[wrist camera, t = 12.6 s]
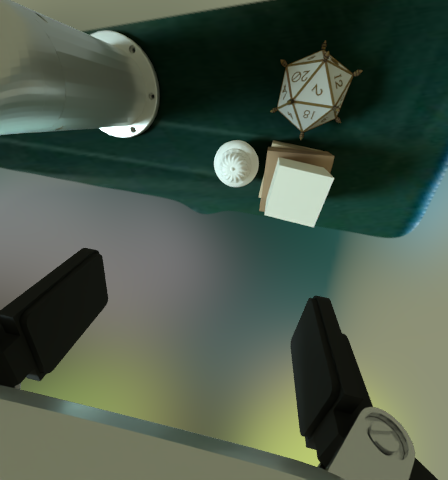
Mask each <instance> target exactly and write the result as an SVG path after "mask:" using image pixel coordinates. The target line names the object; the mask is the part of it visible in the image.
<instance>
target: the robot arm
mask: <svg viewBox="0 0 448 480" xmlns="http://www.w3.org/2000/svg"><path fill="white" fill-rule="evenodd" d="M134 50H135V53H134ZM153 95H154V98H153ZM159 99H160V92H159V83H158V79H157V75H156V72H155V70H154V67H153V65H152V63H151V61H150V59H149V58H148V56H147V55H146V53H145V52H144V51H143V50H142V48H141V47H140V46H139V45H138V44H136V43H135V42H134V41H133V40H131V39H130V38H128V37H126V36H125V35H122V34H120V33H118V32H114V31H109V30H105V31H98V32H95V33H93V34H91V35H88V34H86V33H84V32H81V31H79V30H77V29H74V28H72V27H70V26H68V25H65V24H63V23H61V22H59V21H56V20H54V19H52V18H49V17H47V16H45V15H43V14H40V13H38V12H36V11H33V10H31V9H29V8H27V7H24V6H22V5H20V4H18V3H15V2H13V1H11V0H0V135H6V134H17V133H30V132H48V131H63V130H79V129H94V128H99V129H101V130H102V131H103V132H105V133H107V134H109V135H112V136H115V137H120V138H128V137H134V136H137V135H139V134H141V133H143V132H144V131H146V130H147V129H148V128H149V127H150V125H151V124H152V123H153V121H154V119H155V117H156V115H157V111H158V107H159ZM135 129H136V131H135ZM107 302H108V294H107V287H106V281H105V273H104V266H103V259H102V255H100V254H99V252H98V251H97V250H93V249H88V248H83V249H81V250H80V251H78V252H77V253H76V254H74V255H73V256H72V257H70V258H69V259H68V260H66V261H65V262H64V263H62V264H61V265H60V266H59V267H57V268H56V269H55V270H53V271H52V272H51V273H49V274H48V275H47V276H45V277H44V278H43V279H41V280H40V281H39V282H37V283H36V284H35V285H33V286H32V287H31V288H29V289H28V290H27V291H25V292H24V293H23V294H22V295H20V296H19V297H17V298H16V299H15V300H14V301H12V302H11V303H10V304H8V305H7V306H6V307H4V308H3V309H2V310H0V480H438V479H437V478H436V477H435V476H434V475H433V474H431V473H430V472H429V471H428V470H427V469H426V468H425V467H424V466H423V465H422V464H421V463H420V462H419V461H418V460H417V459H416V458H415V450H414V446H413V443H412V441H411V439H410V437H409V435H408V433H407V432H406V430H405V429H404V428H403V426H402V425H401V424H400V423H399V422H398V421H397V420H396V419H395V418H394V417H393V416H391V415H390V414H388V413H387V412H386V411H383V410H381V409H379V408H375V407H373V406H372V403H371V400H370V398H369V395H368V392H367V389H366V387H365V384H364V381H363V378H362V376H361V373H360V370H359V367H358V365H357V362H356V359H355V357H354V354H353V351H352V349H351V345H350V343H349V340H348V338H347V336H346V335H345V334H342V333H341V330H340V327H339V324H338V321H337V318H336V315H335V313H334V310H333V307H332V304H331V301H330V299H329V298H325V297H320V296H314V297H313V298H309V299H308V301H307V304H306V306H305V309H304V311H303V313H302V316H301V318H300V320H299V323H298V325H297V327H296V330H295V332H294V335H293V337H292V340H291V354H292V363H293V373H294V382H295V391H296V400H297V409H298V418H299V428H300V433H301V435H302V436H305V441H306V447H307V448H311V449H315V450H317V457H318V460H319V461H320V464H319V465H318V467H315V466H312V465H309V464H306V463H303V462H300V461H297V460H294V459H290V458H287V457H283V456H280V455H276V454H272V453H269V452H265V451H262V450H258V449H254V448H251V447H247V446H243V445H239V444H235V443H232V442H228V441H223V440H220V439H216V438H212V437H208V436H204V435H201V434H197V433H193V432H189V431H185V430H181V429H177V428H173V427H169V426H165V425H161V424H157V423H153V422H149V421H145V420H141V419H138V418H134V417H129V416H125V415H122V414H118V413H114V412H109V411H105V410H102V409H98V408H94V407H90V406H85V405H81V404H77V403H73V402H69V401H65V400H61V399H57V398H53V397H49V396H45V395H41V394H37V393H33V392H28V391H24V390H20V385H21V382H22V381H23V380H24V379H25V377H27V378H29V379H33V380H37V381H41V380H42V378H43V377H44V376H45V375H46V374H47V373H50V372H51V371H53V370H54V368H55V367H56V366H57V365H58V364H59V362H60V361H61V360H62V359H63V357H64V356H65V355H66V354H67V352H68V351H69V350H70V349H71V348H72V346H73V345H74V344H75V343H76V341H77V340H78V339H79V338H80V337H81V335H82V334H83V333H84V332H85V330H86V329H87V328H88V327H89V326H90V324H91V323H92V322H93V321H94V319H95V318H96V317H97V316H98V314H99V313H100V312H101V311H102V310H103V308H104V307H105V306H106V304H107Z"/></svg>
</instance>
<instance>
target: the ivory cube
mask: <svg viewBox="0 0 448 480" xmlns="http://www.w3.org/2000/svg"><path fill="white" fill-rule="evenodd" d="M333 180H334V177H333V176H332V175H331V174H330V173H329V172H328V171H327V170H326V169H325V168H324V167H319V166H315V165H311V164H306V163H302V162H298V161H294V160H289V159H285V158H281V157H279V158H278V161H277V165H276V168H275V171H274V175H273V178H272V182H271V185H270V188H269V192H268V195H267V199H266V206H265V215H267V216H271V217H275V218H279V219H282V220H286V221H290V222H294V223H298V224H302V225H306V226H310V227H314V225H315V223H316V220H317V218H318V216H319V213H320V211H321V209H322V206H323V204H324V201H325V199H326V197H327V194H328V192H329V190H330V187H331V185H332V183H333Z"/></svg>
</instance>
